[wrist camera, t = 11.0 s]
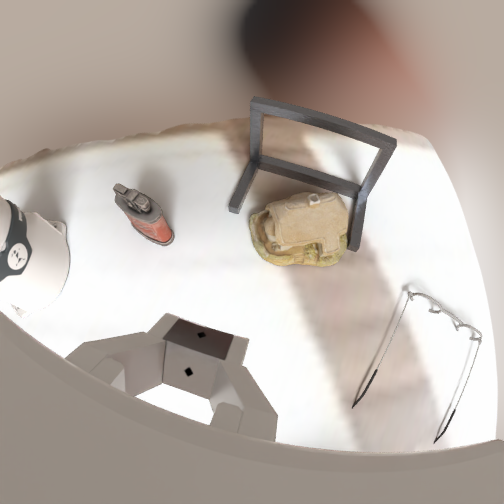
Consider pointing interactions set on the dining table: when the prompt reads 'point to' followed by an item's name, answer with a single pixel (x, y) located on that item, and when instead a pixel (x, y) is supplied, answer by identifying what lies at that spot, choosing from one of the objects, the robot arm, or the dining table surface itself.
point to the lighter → (144, 215)
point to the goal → (306, 174)
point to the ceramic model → (301, 230)
